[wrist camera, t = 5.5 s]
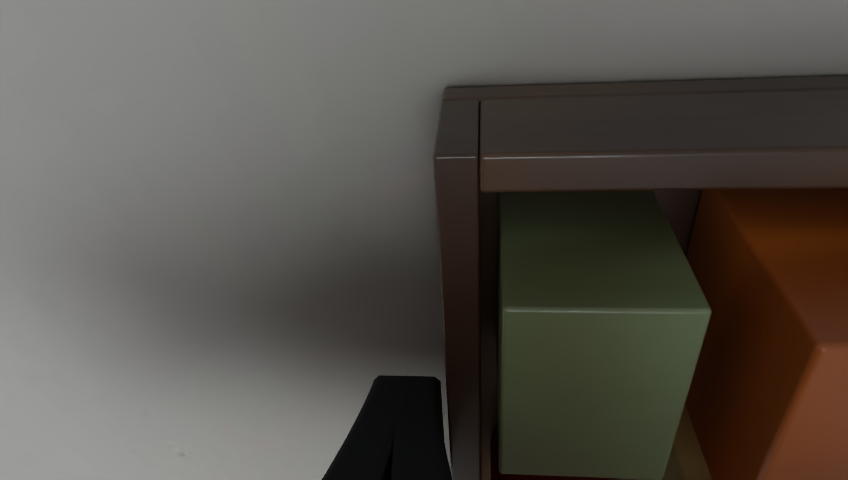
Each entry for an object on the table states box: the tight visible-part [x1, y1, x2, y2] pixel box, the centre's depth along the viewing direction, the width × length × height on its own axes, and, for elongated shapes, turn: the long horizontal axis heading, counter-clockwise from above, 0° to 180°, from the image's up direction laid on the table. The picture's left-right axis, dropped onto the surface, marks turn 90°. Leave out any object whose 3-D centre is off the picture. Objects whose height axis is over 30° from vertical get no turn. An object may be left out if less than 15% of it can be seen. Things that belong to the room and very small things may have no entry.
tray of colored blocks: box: [433, 76, 848, 480], centre depth 11 cm, size 8×12×5 cm, turn 4°
